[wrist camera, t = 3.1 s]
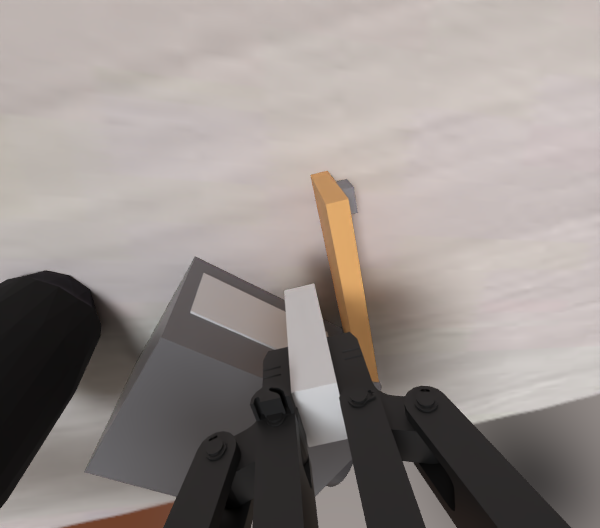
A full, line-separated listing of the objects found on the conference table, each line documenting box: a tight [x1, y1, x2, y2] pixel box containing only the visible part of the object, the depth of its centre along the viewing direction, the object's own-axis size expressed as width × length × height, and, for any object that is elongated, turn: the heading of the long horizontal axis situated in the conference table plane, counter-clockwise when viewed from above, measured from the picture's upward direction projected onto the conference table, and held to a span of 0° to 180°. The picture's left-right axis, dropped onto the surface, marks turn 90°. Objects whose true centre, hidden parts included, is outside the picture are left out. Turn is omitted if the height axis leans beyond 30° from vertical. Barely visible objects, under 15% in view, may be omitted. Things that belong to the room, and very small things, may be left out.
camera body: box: [85, 257, 353, 497], centre depth 27 cm, size 18×12×11 cm
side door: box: [311, 171, 381, 391], centre depth 25 cm, size 14×2×7 cm, turn 13°
